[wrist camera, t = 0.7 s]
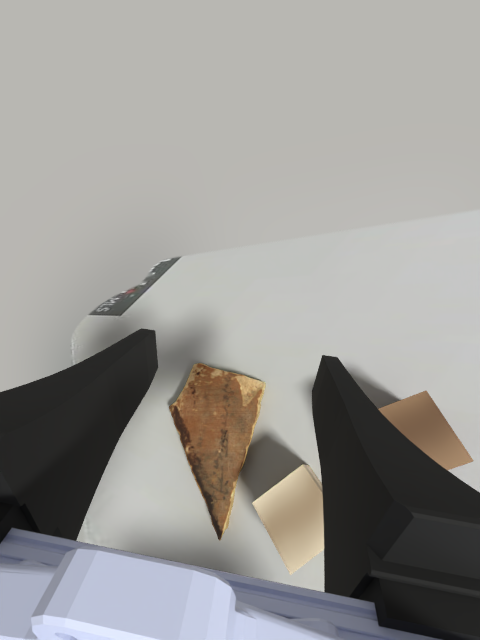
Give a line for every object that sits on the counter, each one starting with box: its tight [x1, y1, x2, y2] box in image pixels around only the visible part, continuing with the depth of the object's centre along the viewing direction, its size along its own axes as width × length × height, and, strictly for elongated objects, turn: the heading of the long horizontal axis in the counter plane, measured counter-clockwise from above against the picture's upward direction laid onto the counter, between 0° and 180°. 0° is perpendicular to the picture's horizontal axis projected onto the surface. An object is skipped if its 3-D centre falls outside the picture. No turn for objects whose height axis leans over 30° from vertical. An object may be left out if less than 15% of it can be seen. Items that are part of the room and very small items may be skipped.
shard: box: [169, 363, 266, 540], centre depth 28 cm, size 13×9×2 cm
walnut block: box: [378, 391, 473, 470], centre depth 21 cm, size 4×4×6 cm
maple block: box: [252, 464, 324, 575], centre depth 22 cm, size 4×4×4 cm
